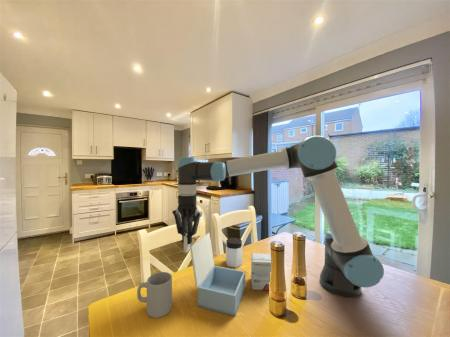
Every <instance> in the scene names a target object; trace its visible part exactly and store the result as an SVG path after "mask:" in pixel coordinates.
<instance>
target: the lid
mask: <svg viewBox="0 0 450 337" xmlns="http://www.w3.org/2000/svg"><path fill="white" fill-rule="evenodd" d="M212 247H213V246H212V241H211V235H210V232H207V233H206V234H205V235H204V236H202V237H201V238H200V239H199V240H197V241H196V242H195V243H193V244H192V245H190V256H191V257H190V258H191V264H192V268H193V269H192V270H193V276H194V277H193V278H194V282H195V287H196V288H198V287H199V285H200V284H201V283H202V281H203V280H204V279H205V277H206V276H207V275H208V273H209V272H210V271H211V269H212V268H213V267H214V266H215V261H214V253H213V249H212Z"/></svg>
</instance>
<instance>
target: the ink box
mask: <svg viewBox="0 0 450 337" xmlns="http://www.w3.org/2000/svg"><path fill="white" fill-rule="evenodd" d="M250 258H251V263H250V266H251V267H250V268H251V269H250V270H251V275H250V277H251V279H250V280H251V289H252V290H255V291H256V290H257V291H258V290H259V291H270V290H269V282H270V272H271V259H272V257H271V254H270V253H258V252H257V253H255V252H252V253H251V257H250Z"/></svg>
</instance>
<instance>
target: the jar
mask: <svg viewBox="0 0 450 337" xmlns="http://www.w3.org/2000/svg"><path fill="white" fill-rule="evenodd" d="M225 263H226V265H227V267H228V268H229V267H231V268H239V267H240V266H242V265H243V241H242V239H241V238H237V237H229V238H227V239H226V241H225Z"/></svg>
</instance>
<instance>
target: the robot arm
mask: <svg viewBox="0 0 450 337" xmlns="http://www.w3.org/2000/svg"><path fill="white" fill-rule="evenodd" d="M336 157H337V148H336V146H335V144H334V143H333V142H332V141H331V140H330V139H329V138H327V137H325V136H324V135H313V136H308V137H306V138H304V139H302V140H300V141H299V142H297V143H295V144H292V145H289V146H284V147H283V148H282V149H281V150H277V151H271V152H266V153H261V154H256V155H250V156H244V157H240V158H234V159H229V160H224V161H198V160H197V157H195V156H194V157H193V156H181V157H179V158H178V163H177V164H178V165H177V177H178V179H177V203H178V204H177V208H176V209H174V210H172V214H173V216H174V221H175V226H176V230H177V231H176V232H177V234H179V235H181V243H182V244H183V253H187V254H188V253H189V252H191V250H190V247H191V244H192V243H193V236H195V235H196V234H197V233H198V228H199V223H200V219H201V217H202V215H203V212H202V211H199V210H198V207H197V181H211V182H212V181H213V182H221V181H225V179H226V178H229V177H236V176H240V175H245V174H246V175H247V174H253V173H258V172H263V171H271V170H275V169H276V170H277V169H281V168H285V169H287V170H289V169H301V172H302V175H303V178H305V179H306V180H309V181H310V183H311V186H312V188H313V192H314V194H315V196H316V198H317V201H318V203H319V206H320V209H321V212H322V214H323V217H324V219H325V221H326V224H327V227H328V230H327V231H326V232H325V233H324V265H323V267H322V269H321V272H320V274H319V282H320V284H321V285H322V287H324V288H325V289H326V290H327V291H329V292H331V293H333V294H336V295H338V296H342V297H348V298H354V297H358V296H360V295H361V293H362V288H372V287H374V286H377V284H379V283H380V282H381V280H382V279H383V277H384V275H385V268H384V266H383V264H382V262H381V261H380V259H379V258H378V257H376V256H375V255H374V254H373V251H372V248H371V247H370V245H369V242H368V240H367V238H365V237H363V236H361V235H360V233H359V230H358V227H357V225H356V222H355V220H354V217H353V214H352V213H351V210H350V207H349V205H348V202H347V199H346V198H345V195H344V192H343V190H342V187H341V185H340V183H339V180H338V177H337V175H336V171H337V170H338V169H339V167H338V163H337V162H336ZM194 216H195V217H194Z"/></svg>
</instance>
